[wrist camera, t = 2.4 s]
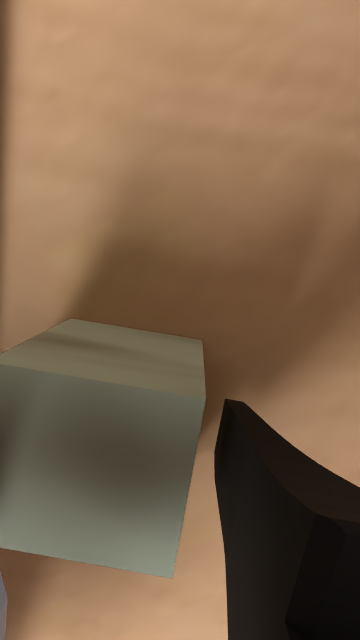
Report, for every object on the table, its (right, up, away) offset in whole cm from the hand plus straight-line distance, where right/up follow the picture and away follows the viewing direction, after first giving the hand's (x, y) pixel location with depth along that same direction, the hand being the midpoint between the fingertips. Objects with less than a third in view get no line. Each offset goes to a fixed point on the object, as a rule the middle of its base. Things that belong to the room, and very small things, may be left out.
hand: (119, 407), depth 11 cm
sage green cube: (0, 0, +2) cm, 2 cm away
